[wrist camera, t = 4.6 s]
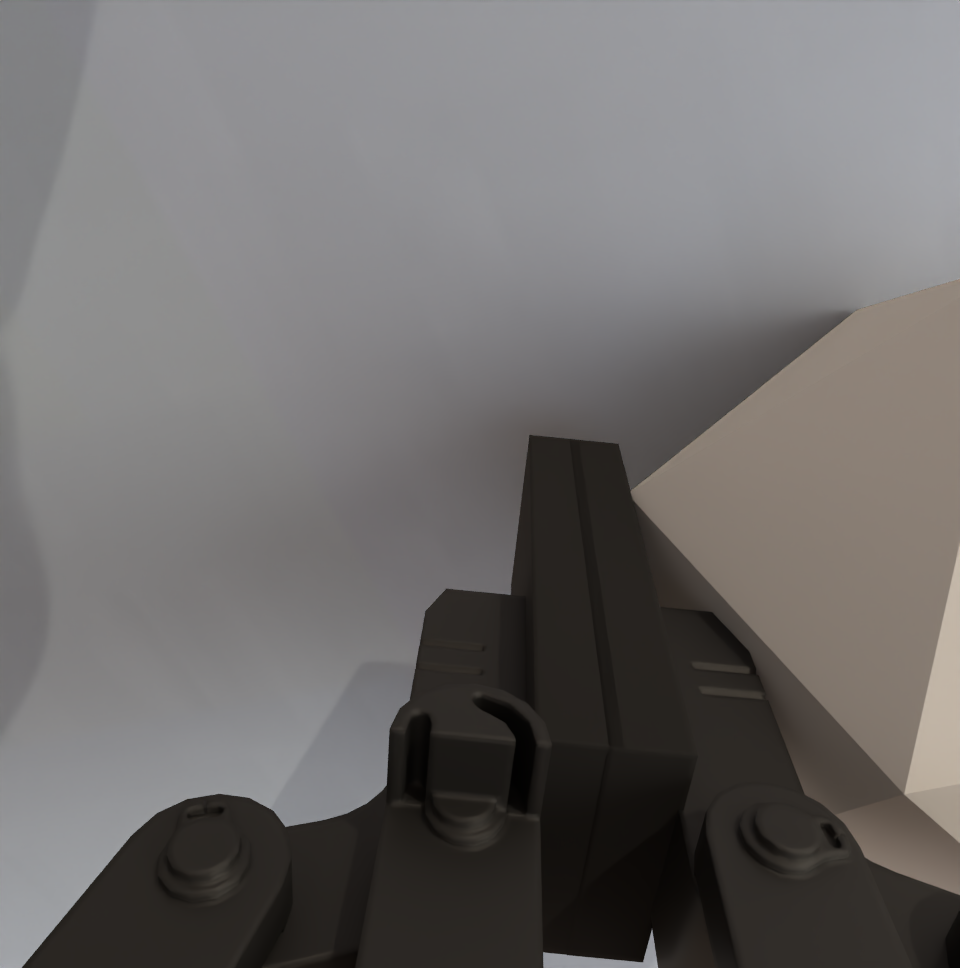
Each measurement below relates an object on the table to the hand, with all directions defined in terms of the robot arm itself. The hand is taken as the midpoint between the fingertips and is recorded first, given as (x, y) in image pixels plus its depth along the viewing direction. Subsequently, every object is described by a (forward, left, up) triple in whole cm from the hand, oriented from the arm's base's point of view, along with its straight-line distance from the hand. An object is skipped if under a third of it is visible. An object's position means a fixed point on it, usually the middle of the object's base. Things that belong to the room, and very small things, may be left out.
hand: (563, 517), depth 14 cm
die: (+5, 0, -2) cm, 6 cm away
